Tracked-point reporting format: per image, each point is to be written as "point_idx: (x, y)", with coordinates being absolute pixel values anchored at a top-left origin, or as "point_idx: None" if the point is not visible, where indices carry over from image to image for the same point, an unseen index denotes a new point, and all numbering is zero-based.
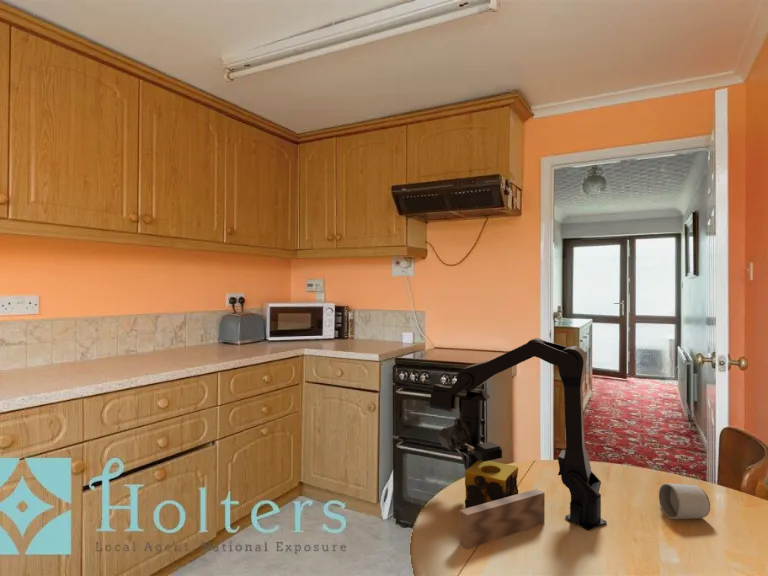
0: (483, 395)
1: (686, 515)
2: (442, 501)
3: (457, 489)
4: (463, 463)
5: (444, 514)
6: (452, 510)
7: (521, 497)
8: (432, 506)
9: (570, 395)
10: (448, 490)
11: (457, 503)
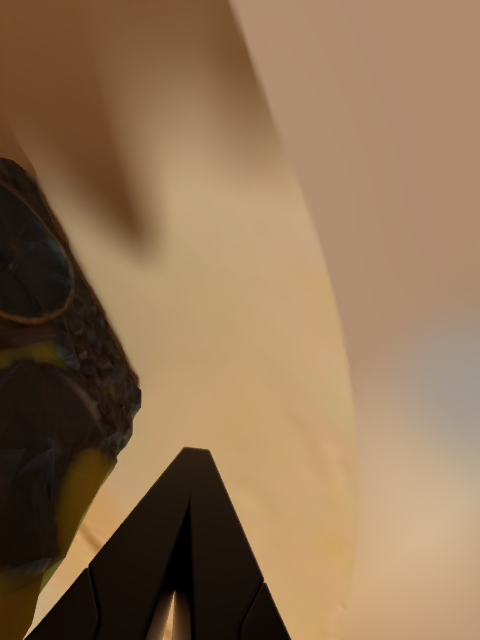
0: None
1: None
2: (250, 171)
3: (306, 373)
4: (251, 555)
5: (85, 10)
6: (105, 121)
7: None
8: (239, 38)
9: None
10: (333, 323)
11: (168, 234)
